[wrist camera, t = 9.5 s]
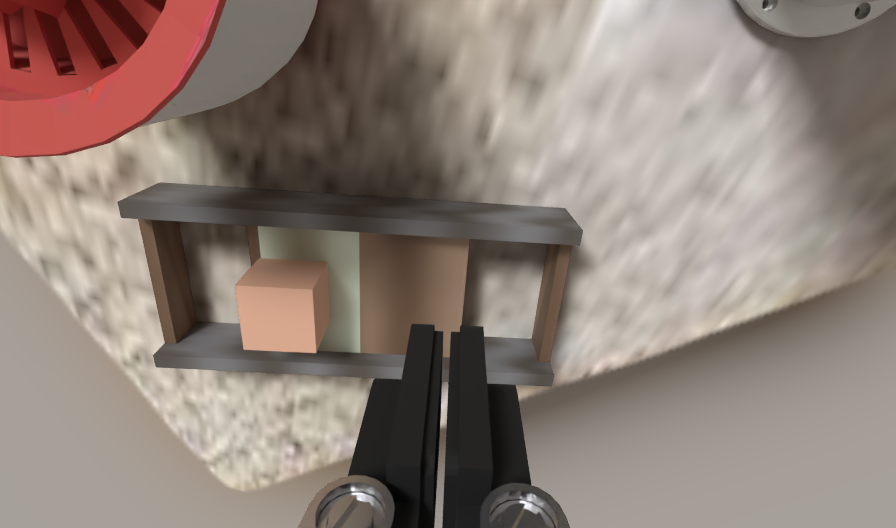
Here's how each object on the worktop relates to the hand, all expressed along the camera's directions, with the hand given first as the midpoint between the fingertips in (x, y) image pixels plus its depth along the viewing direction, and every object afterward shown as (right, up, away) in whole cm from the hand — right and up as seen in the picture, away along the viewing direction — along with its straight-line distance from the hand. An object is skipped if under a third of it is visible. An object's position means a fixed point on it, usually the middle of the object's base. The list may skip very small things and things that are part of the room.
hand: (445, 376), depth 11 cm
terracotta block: (-10, +1, +21) cm, 23 cm away
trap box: (-6, +2, +24) cm, 24 cm away
